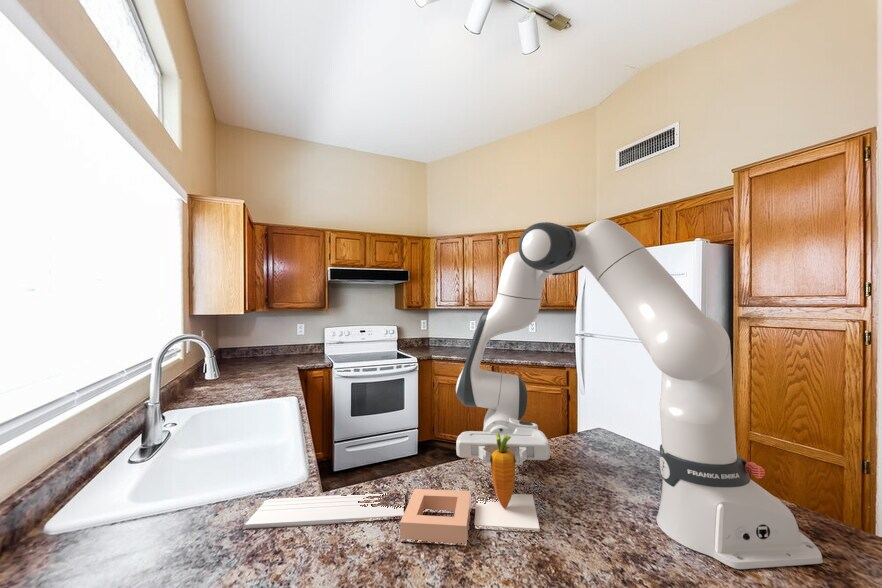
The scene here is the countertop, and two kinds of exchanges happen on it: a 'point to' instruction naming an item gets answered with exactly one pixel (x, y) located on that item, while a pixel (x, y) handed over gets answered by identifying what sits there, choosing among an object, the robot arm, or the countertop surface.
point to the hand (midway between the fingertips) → (502, 460)
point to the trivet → (508, 513)
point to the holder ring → (437, 526)
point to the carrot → (503, 471)
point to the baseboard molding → (318, 511)
